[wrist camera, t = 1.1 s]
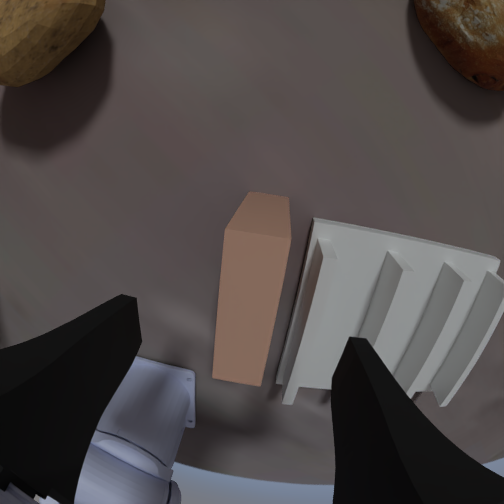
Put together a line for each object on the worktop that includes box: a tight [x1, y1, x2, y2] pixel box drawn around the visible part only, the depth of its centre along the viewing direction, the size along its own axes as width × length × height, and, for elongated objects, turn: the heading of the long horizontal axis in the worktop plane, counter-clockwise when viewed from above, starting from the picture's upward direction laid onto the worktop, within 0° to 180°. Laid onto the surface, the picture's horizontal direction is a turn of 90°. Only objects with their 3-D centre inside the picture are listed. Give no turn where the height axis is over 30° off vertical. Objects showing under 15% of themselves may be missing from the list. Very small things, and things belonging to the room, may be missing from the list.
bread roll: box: [414, 0, 504, 91], centre depth 10 cm, size 10×10×8 cm
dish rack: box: [276, 217, 504, 407], centre depth 19 cm, size 14×16×4 cm
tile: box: [212, 191, 291, 386], centre depth 16 cm, size 8×2×8 cm, turn 173°
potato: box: [0, 0, 105, 87], centre depth 11 cm, size 10×14×8 cm
